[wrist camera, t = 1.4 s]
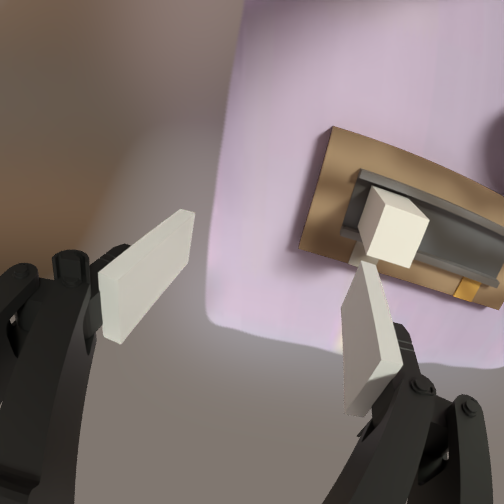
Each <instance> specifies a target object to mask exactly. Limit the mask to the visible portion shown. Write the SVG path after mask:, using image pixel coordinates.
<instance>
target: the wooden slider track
mask: <svg viewBox="0 0 504 504" xmlns="http://www.w3.org/2000/svg"><path fill="white" fill-rule="evenodd" d="M372 185H373V186H376V187H378V188H381V189H384V190H387V191H390V192H393V193H395V194H398V195H401V196H404V197H406V198H408V199H409V200H410V201H411V202H412V203H413V204H414V205H415V206H416V207H417V208H418V209H419V210H420V211H421V212H422V213H423V214H424V215H425V216H426V217H427V218H428V219H429V220H430V221H429V223H428V226H427V228H426V231H425V233H424V236H423V238H422V240H421V243H420V245H419V247H418V250H417V252H416V254H415V257H414V259H413V261H412V263H411V266H410V268H406V267H403V266H400V265H397V264H394V263H390V262H387V261H384V260H381V259H378V258H374V257H371V256H368V255H366V252H365V249H364V245H363V242H362V239H361V236H360V232H359V229H358V224H359V221H360V218H361V215H362V213H363V210H364V207H365V204H366V201H367V198H368V195H369V192H370V189H371V186H372ZM299 249H301V250H305V251H308V252H311V253H315V254H318V255H322V256H325V257H328V258H332V259H335V260H338V261H342V262H345V263H348V264H349V265H353V266H356V267H358V266H359V264H360V261H365V262H368V263H371V264H374V265H376V268H377V271H378V273H382V274H385V275H388V276H391V277H395V278H398V279H401V280H405V281H408V282H411V283H414V284H417V285H421V286H424V287H427V288H430V289H434V290H437V291H440V292H443V293H446V294H449V295H453V296H454V297H457V298H460V299H463V300H466V301H469V302H475V303H478V304H481V305H484V306H487V307H490V308H493V309H496V310H499V309H500V307H501V306H502V304H503V302H504V196H502V195H500V194H498V193H496V192H494V191H492V190H491V189H489V188H487V187H485V186H483V185H481V184H479V183H477V182H475V181H473V180H471V179H469V178H467V177H465V176H463V175H460V174H458V173H456V172H454V171H452V170H450V169H447V168H445V167H443V166H441V165H438V164H436V163H434V162H432V161H429V160H427V159H424V158H422V157H420V156H417V155H415V154H412V153H410V152H407V151H405V150H402V149H399V148H397V147H394V146H391V145H389V144H386V143H383V142H380V141H378V140H375V139H372V138H369V137H366V136H363V135H360V134H357V133H354V132H351V131H348V130H345V129H341V128H338V127H335V126H333V127H332V131H331V135H330V138H329V142H328V146H327V149H326V153H325V157H324V160H323V164H322V167H321V171H320V175H319V178H318V182H317V185H316V189H315V192H314V195H313V199H312V202H311V206H310V209H309V212H308V216H307V219H306V222H305V226H304V229H303V232H302V236H301V239H300V243H299Z"/></svg>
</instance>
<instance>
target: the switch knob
mask: <svg viewBox="0 0 504 504" xmlns="http://www.w3.org/2000/svg"><path fill="white" fill-rule="evenodd" d="M429 221H430V220H429V219H428V218H427V217H426V216H425V215H424V214H423V213H422V212H421V211H420V210H419V209H418V208H417V207H416V206H415V205H414V204H413V203H412V202H411V201H410V200H409V199H408V198H406V197H404V196H401V195H398V194H395V193H393V192H390V191H387V190H384V189H381V188H378V187H376V186H373V185H372V186H371V189H370V192H369V195H368V198H367V201H366V204H365V207H364V210H363V213H362V215H361V218H360V221H359V224H358V229H359V232H360V236H361V239H362V242H363V245H364V249H365V252H366V255H368V256H371V257H374V258H378V259H381V260H384V261H387V262H390V263H394V264H397V265H400V266H403V267H406V268H410V266H411V263H412V261H413V259H414V257H415V254H416V252H417V250H418V247H419V245H420V243H421V240H422V238H423V236H424V233H425V231H426V228H427V226H428V223H429Z"/></svg>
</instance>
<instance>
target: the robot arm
mask: <svg viewBox="0 0 504 504" xmlns="http://www.w3.org/2000/svg"><path fill="white" fill-rule="evenodd" d="M194 218H195V212H191V211H187V210H183V209H180V210H179V211H177V212H176V213H174V214H173V215H172V216H170V217H169V218H168V219H166V220H165V221H163V222H162V223H161V224H159V225H158V226H157V227H155V228H154V229H153V230H151V231H150V232H149V233H147V234H146V235H145V236H144V237H142V238H141V239H140V240H138V241H137V242H136V243H134V244H133V245H132V246H130V245H127V244H122V245H119V246H116V247H113V248H112V249H111V250H109V251H108V252H107V253H106V254H104V255H103V256H101V257H100V259H97V260H96V261H95V262H94V263H92V264H91V265H90V266H89V257H88V255H87V254H86V253H84V252H82V251H79V250H65V251H61V252H59V253H57V254H55V255H54V256H53V257H52V263H53V272H54V280H50V279H44V278H39V275H38V269H37V268H36V266H34V265H32V264H29V263H19V264H17V265H14V266H12V267H11V268H9V269H8V270H7V271H6V272H4V273H3V274H2V275H1V276H0V404H1V402H2V401H3V402H2V405H1V408H0V504H74V495H75V478H76V464H77V454H78V444H79V436H80V428H81V421H82V414H83V407H84V401H85V395H86V389H87V384H88V379H89V374H90V368H91V364H92V359H93V354H94V349H95V345H96V331H97V330H98V328H100V327H101V325H102V329H103V336H104V337H105V338H107V339H110V340H112V341H114V342H117V343H118V344H122V343H123V341H124V340H125V339H126V338H127V336H128V335H129V334H130V333H131V331H132V330H133V329H134V328H135V326H136V325H137V324H138V323H139V321H140V320H141V319H142V318H143V317H144V315H145V314H146V312H148V310H149V309H150V308H151V307H152V305H153V304H154V303H155V302H156V301H157V299H158V298H159V297H160V296H161V295H162V293H163V292H164V291H165V290H166V288H167V287H168V286H169V285H170V284H171V282H172V281H173V280H174V279H175V278H176V277H177V275H178V274H179V273H180V272H181V271H182V269H183V268H184V267H185V266H186V264H187V263H188V260H189V252H190V245H191V238H192V232H193V225H194ZM13 315H15V319H16V320H15V321H14V322H13V323H12V324H11V322H10V318H11V317H12V316H13ZM341 318H342V338H343V361H344V362H343V366H344V414H347V415H353V416H359V417H364V416H365V415H366V414H367V413H368V411H369V410H370V409H371V408H372V419H371V420H370V421H369V422H368V423H367V425H366V426H365V427H364V428H363V429H362V430H361V431H360V433H359V434H358V435H357V437H360V436H361V437H360V439H359V441H358V443H357V445H356V446H355V448H354V450H353V452H352V454H351V456H350V458H349V459H348V461H347V463H346V465H345V467H344V469H343V470H342V472H341V474H340V475H339V477H338V479H337V481H336V482H335V484H334V486H333V487H332V489H331V490H330V492H329V494H328V495H327V497H326V498H325V500H324V502H323V503H322V504H405V503H406V501H407V498H408V501H407V504H493V489H492V475H491V464H490V455H489V447H488V440H487V433H486V427H485V421H484V416H483V411H482V408H481V406H480V405H479V403H478V402H477V401H476V400H475V399H474V398H473V397H471V396H468V395H463V394H462V395H459V396H458V397H457V398H456V399H455V400H454V401H453V402H450V401H448V400H446V399H443V398H441V397H439V396H437V395H436V389H435V387H434V385H433V383H432V382H431V381H430V380H429V379H428V378H426V377H425V376H424V375H422V374H421V373H420V369H419V366H418V362H417V358H416V355H415V352H414V348H413V345H412V341H411V338H410V335H409V333H408V331H407V330H406V329H405V327H404V326H403V325H402V324H398V323H394V322H393V321H392V318H391V314H390V311H389V307H388V304H387V300H386V297H385V293H384V290H383V287H382V283H381V280H380V277H379V274H378V271H377V268H376V265H374V264H371V263H368V262H365V261H360V264H359V266H358V269H357V271H356V274H355V276H354V279H353V281H352V283H351V286H350V288H349V290H348V293H347V295H346V297H345V300H344V302H343V304H342V306H341ZM447 452H449V459H448V460H447Z"/></svg>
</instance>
